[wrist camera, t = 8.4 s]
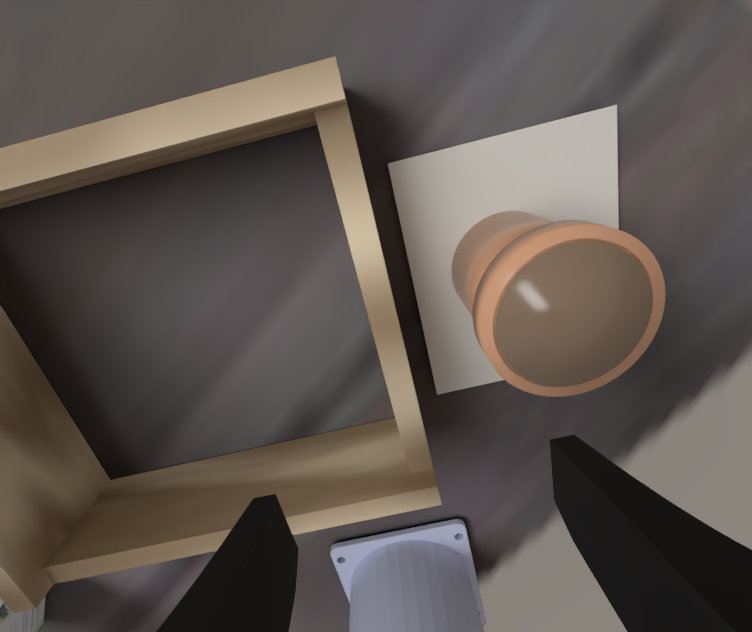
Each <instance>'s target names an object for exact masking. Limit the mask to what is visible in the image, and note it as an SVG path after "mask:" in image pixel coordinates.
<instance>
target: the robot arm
mask: <svg viewBox="0 0 752 632" xmlns="http://www.w3.org/2000/svg"><path fill="white" fill-rule="evenodd" d="M550 449H551V462H552V475H553V488H554V500H555V503H556V505H557V507H558V509H559V511H560V514H561V516H562V518H563V520H564V522H565V524H566V526H567V529H568V530H569V533H570V535H571V537H572V539H573V541H574V543H575V545H576V546H577V548H578V550H579V551H580V553H581V555H582V556H583V558H584V560H585V562H586V563H587V565H588V567H589V568H590V570H591V572H592V573H593V575H594V577H595V578H596V580H597V582H598V583H599V585H600V587H601V588H602V590H603V592H604V593H605V595H606V596H607V598H608V600H609V602H610V603H611V605H612V607H613V608H614V610H615V611H616V613H617V615H618V617H619V618H620V620H621V622H622V623H623V625H624V627H625V628H626V630H627V631H628V632H752V550H751V549H749V548H747V547H745V546H743V545H741V544H740V543H738V542H736V541H734V540H732V539H730V538H729V537H727V536H725V535H723V534H722V533H720V532H718V531H717V530H715V529H713V528H711V527H710V526H708V525H707V524H705V523H703V522H702V521H700V520H698V519H697V518H695V517H693V516H692V515H690V514H689V513H687V512H685V511H683V510H682V509H681V508H679V507H677V506H676V505H674V504H673V503H671V502H669V501H668V500H666V499H665V498H663V497H662V496H661V495H659V494H658V493H656V492H655V491H653V490H652V489H650V488H649V487H647V486H646V485H644V484H643V483H641V482H640V481H638V480H637V479H635V478H634V477H632V476H631V475H629V474H628V473H627V472H625V471H624V470H622V469H621V468H620V467H618V466H617V465H615V464H614V463H612V462H611V461H610V460H608V459H607V458H606V457H604V456H603V455H601V454H600V453H599V452H597V451H596V450H595V449H593V448H592V447H590V446H589V445H588V444H586V443H585V442H583V441H582V440H581V439H579V438H578V437H576V436H575V435H571V436H566V437H561V438H556V439H551V440H550ZM458 533H460V534H458ZM330 555H331V558H332V560H333V563H334V565H335V568H336V570H337V573H338V575H339V578H340V580H341V583H342V585H343V588H344V590H345V593H346V595H347V598H348V600H349V603H350V626H349V632H484V630H483V626H484V625H485V623H486V620H485V615H484V610H483V605H482V601H481V596H480V591H479V587H478V582H477V577H476V573H475V568H474V563H473V559H472V554H471V549H470V545H469V540H468V535H467V530H466V526H465V523H464V521H462V520H460V519H453V520H448V521H443V522H438V523H433V524H428V525H423V526H418V527H413V528H408V529H403V530H399V531H394V532H389V533H384V534H379V535H374V536H369V537H364V538H359V539H354V540H349V541H344V542H339V543H336V544H334V545H332V547H331V551H330ZM297 559H298V547H297V545H296V542H295V540H294V538H293V535H292V533H291V530H290V528H289V525H288V523H287V520H286V518H285V516H284V513H283V511H282V508H281V506H280V503H279V501H278V498H277V496H276V494H272V495H267V496H262V497H257V498H253V500H252V501H251V502H250V504H249V505H248V507H247V508H246V509H245V511H244V512H243V514H242V515H241V517H240V518H239V520H238V521H237V522H236V524H235V525H234V527H233V528H232V530H231V531H230V533H229V534H228V536H227V537H226V538H225V540H224V541H223V543H222V544H221V546H220V547H219V549H218V550H217V552H216V553H215V554H214V556H213V557H212V559H211V560H210V561H209V563H208V564H207V566H206V567H205V568H204V570H203V571H202V573H201V574H200V575H199V577H198V578H197V580H196V581H195V582H194V584H193V585H192V586H191V588H190V589H189V590H188V591H187V593H186V594H185V595H184V597H183V598H182V599H181V601H180V602H179V603H178V605H177V606H176V607H175V609H174V610H173V611H172V612H171V614H170V615H169V616H168V618H167V619H166V620H165V622H164V623H163V624H162V625H161V627H160V628H159V629H158V630H157V631H156V632H288V631H289V626H290V620H291V614H292V608H293V603H294V597H295V589H296V576H297Z"/></svg>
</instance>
